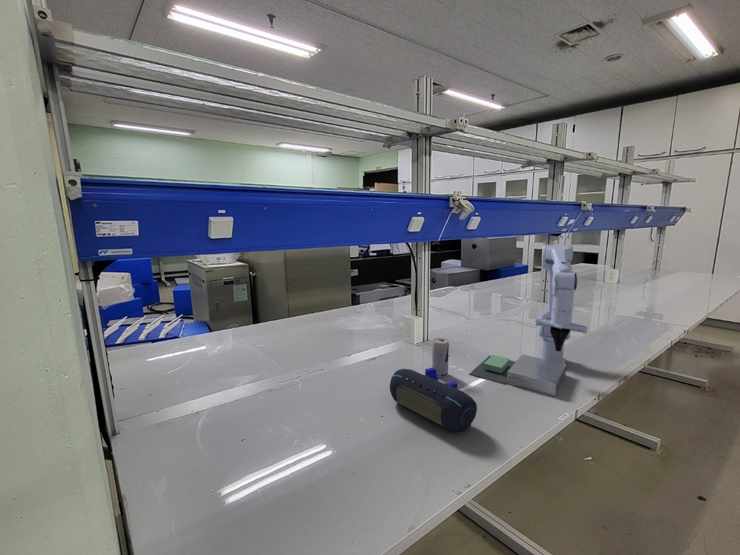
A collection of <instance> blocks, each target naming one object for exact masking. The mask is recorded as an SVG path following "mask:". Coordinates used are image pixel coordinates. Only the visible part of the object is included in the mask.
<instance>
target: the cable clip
mask: <svg viewBox="0 0 740 555" xmlns="http://www.w3.org/2000/svg"><path fill="white" fill-rule="evenodd" d="M424 375H425V376H428V377H430V378H432V379H435V380H437V381H439V379H438V377H437V374H436V369H435V368H432V367H428V368H425V370H424ZM445 384H447V385H449V386H452V387H454V388H456V389H458V382H457V381H449V382H446V383H445Z"/></svg>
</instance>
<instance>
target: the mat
mask: <svg viewBox="0 0 740 555" xmlns="http://www.w3.org/2000/svg"><path fill="white" fill-rule="evenodd" d="M491 356H492V355H488V357H486V358H485V359H484V360H483V361H482V362H481V363H480V364H478V365H477V366H475V368H474V369H473V370H472V371H471V372H470V373H468V375H469V376H473V377H475V378H480V379H483V380H487V381H492V382H494V383H498V384H501V385H506V384H507V371H508V370H509V369H510V368H511V367H512V366H513V365H514V363H515V362H516V360H511V359H510V364H509V365H508V366H507V367H506V369H505V370H504V371H503V372H502V373H498V372H494V371H490V370H486V369H484V363H485V362H486V361H487V360H488V359H489V358H490V357H491Z"/></svg>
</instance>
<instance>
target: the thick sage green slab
mask: <svg viewBox="0 0 740 555" xmlns="http://www.w3.org/2000/svg"><path fill="white" fill-rule="evenodd" d="M490 356H491V357H490V358H489V359H488V360H487V361H486V362H485V363H484V369H486V370H490V371H494V372H498V373H502V372H503V371H504V370H505V369H506V367H507V366H508V365H509V364H510V360H511V359H510V358H507V357H504V356H499V355H495V354H492V355H490Z"/></svg>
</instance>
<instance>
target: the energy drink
mask: <svg viewBox="0 0 740 555" xmlns="http://www.w3.org/2000/svg"><path fill="white" fill-rule="evenodd" d="M449 345H450V344H449V340H447V339H446V338H434V339H433V341H432V350H431V351H432V352H431V353H432V354H431V368H435V369H436V374H437V378H439V379H443V378H446V377H447V376H448V375H449V374H448V373H449V349H450V346H449Z"/></svg>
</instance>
